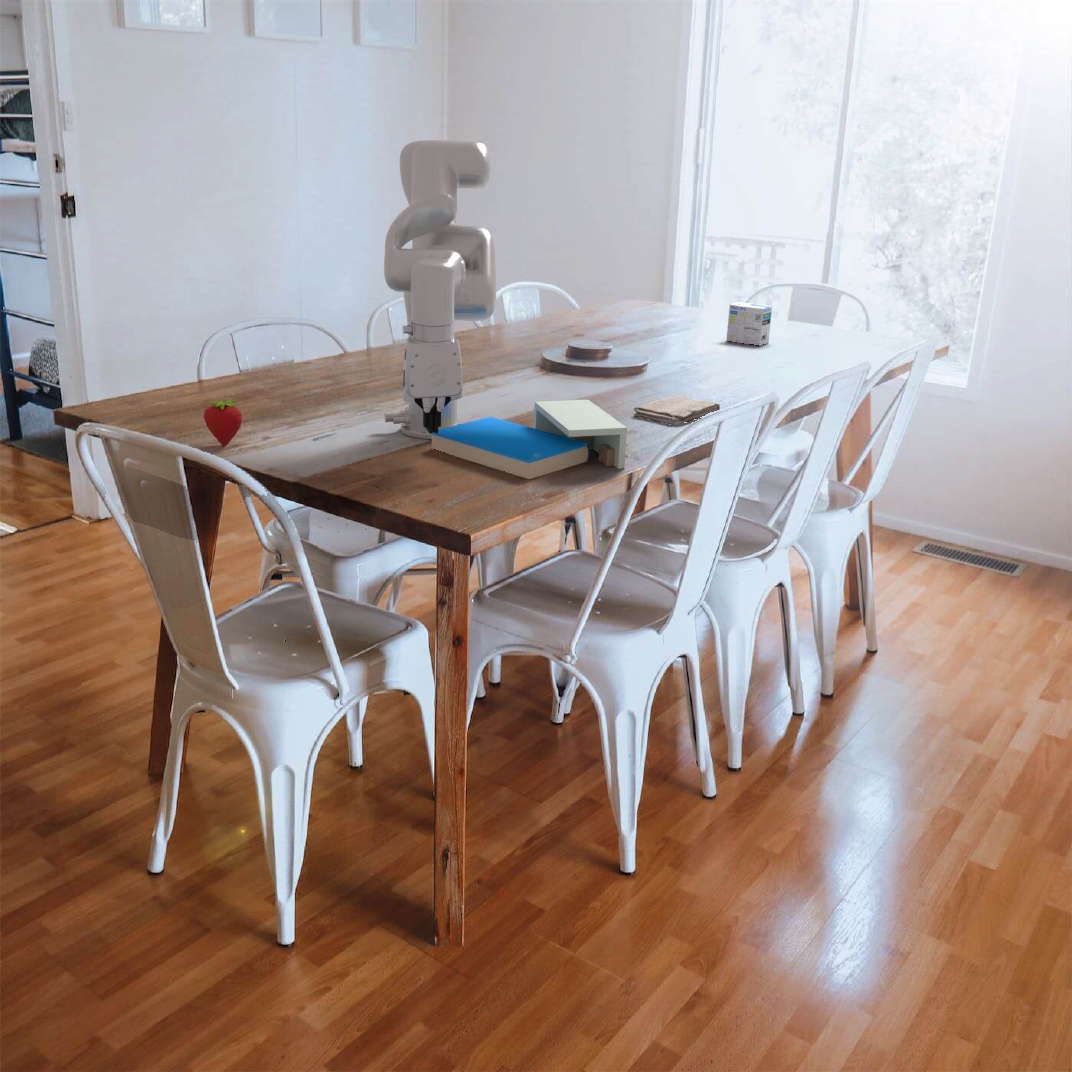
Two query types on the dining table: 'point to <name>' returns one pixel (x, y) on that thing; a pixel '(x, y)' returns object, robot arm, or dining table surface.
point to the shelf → (584, 427)
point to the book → (510, 447)
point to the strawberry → (223, 420)
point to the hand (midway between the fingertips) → (432, 430)
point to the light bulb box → (749, 323)
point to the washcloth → (675, 410)
